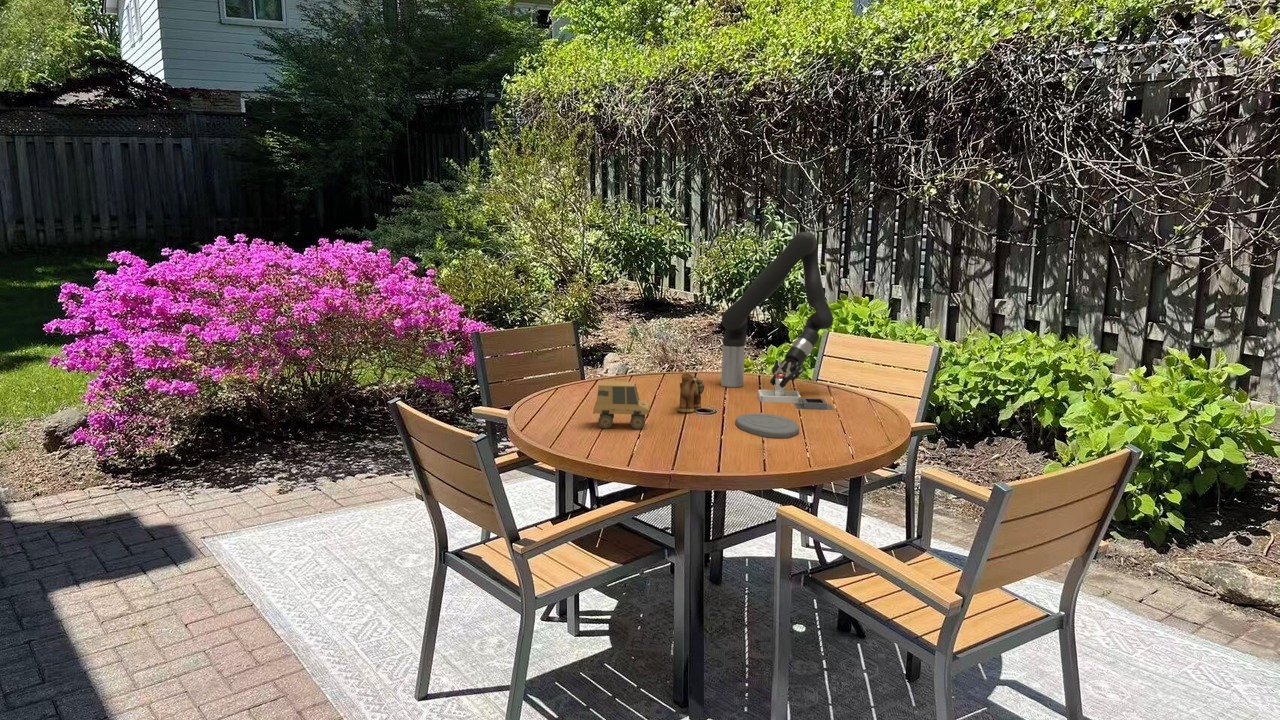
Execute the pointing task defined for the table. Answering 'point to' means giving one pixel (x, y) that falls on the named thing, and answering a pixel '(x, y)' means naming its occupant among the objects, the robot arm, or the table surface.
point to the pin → (778, 389)
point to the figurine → (690, 393)
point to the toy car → (620, 403)
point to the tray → (788, 398)
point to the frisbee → (767, 425)
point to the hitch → (813, 404)
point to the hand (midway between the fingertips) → (776, 385)
